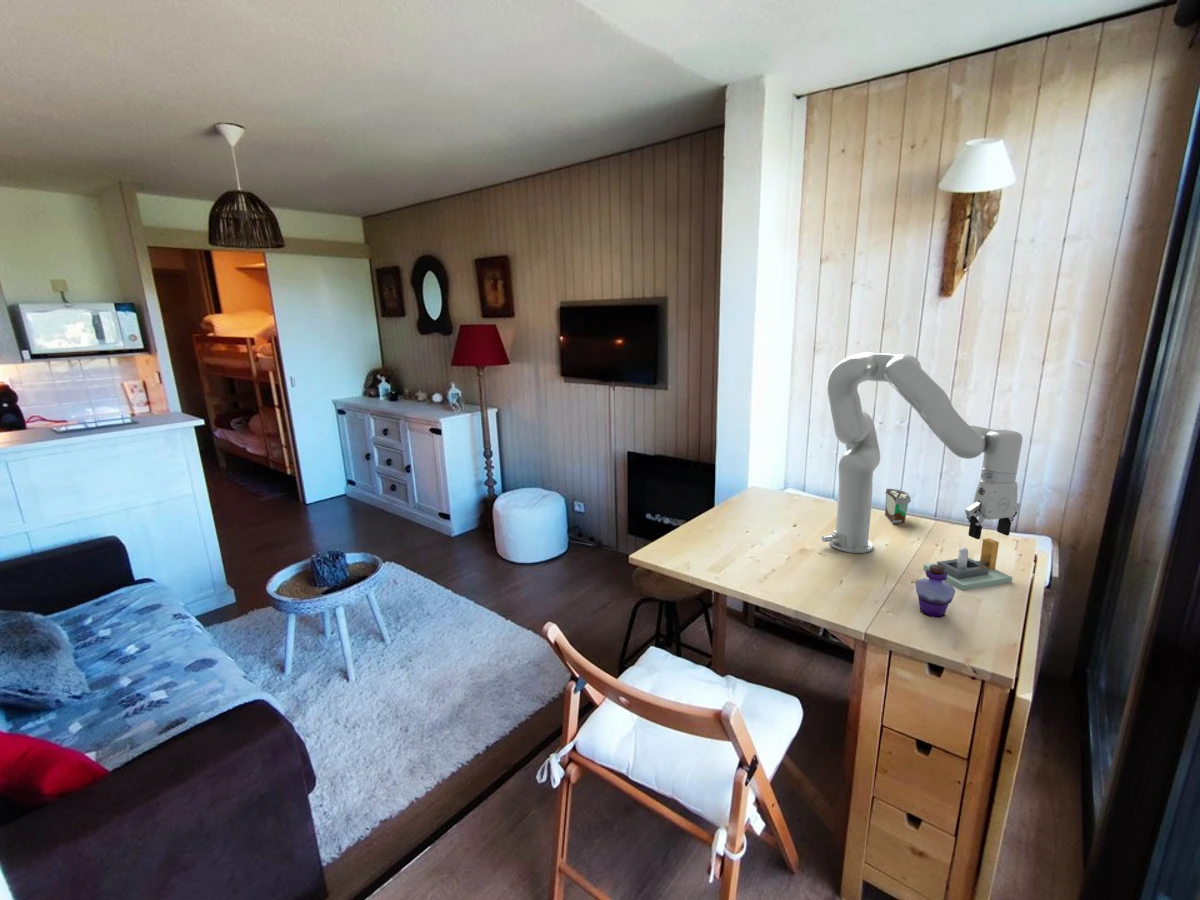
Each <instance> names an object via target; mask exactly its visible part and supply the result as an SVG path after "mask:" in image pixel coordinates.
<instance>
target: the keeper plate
mask: <svg viewBox="0 0 1200 900" xmlns="http://www.w3.org/2000/svg"><path fill="white" fill-rule="evenodd" d="M968 558H969V559H972V560H974V561H977V560H976V559H975V558H973V557H969V550H968V548H967V547H960V548H959V549H958V553H957V559H958V561H957V568H956V569H958V570H960V569H966V568H968V567H967V559H968ZM937 563H938V562H934V563H933V562H932V563H927V564H923V570H924V571H925V572H926V569H929V568H930V565H933V564H935V565H937ZM943 582H945V583H948V584H950V585H952V586H953V587H955V588H958V589H959V590H961V591H967V590H969V591H970V590H974V589H980V588H985V587H991V586H997V585H1002V584H1009V583H1013V576H1011V575H1008V574H1007V573H1005V572H1004V571H1003V572H1002V571H1000V570H998V569H996V568H995V569H993V570H989V574H988V575H982V576H976V577H970V578H964V579H956V578H954V577H952V576H950V575H948V574H947V579H946V580H943Z"/></svg>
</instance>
